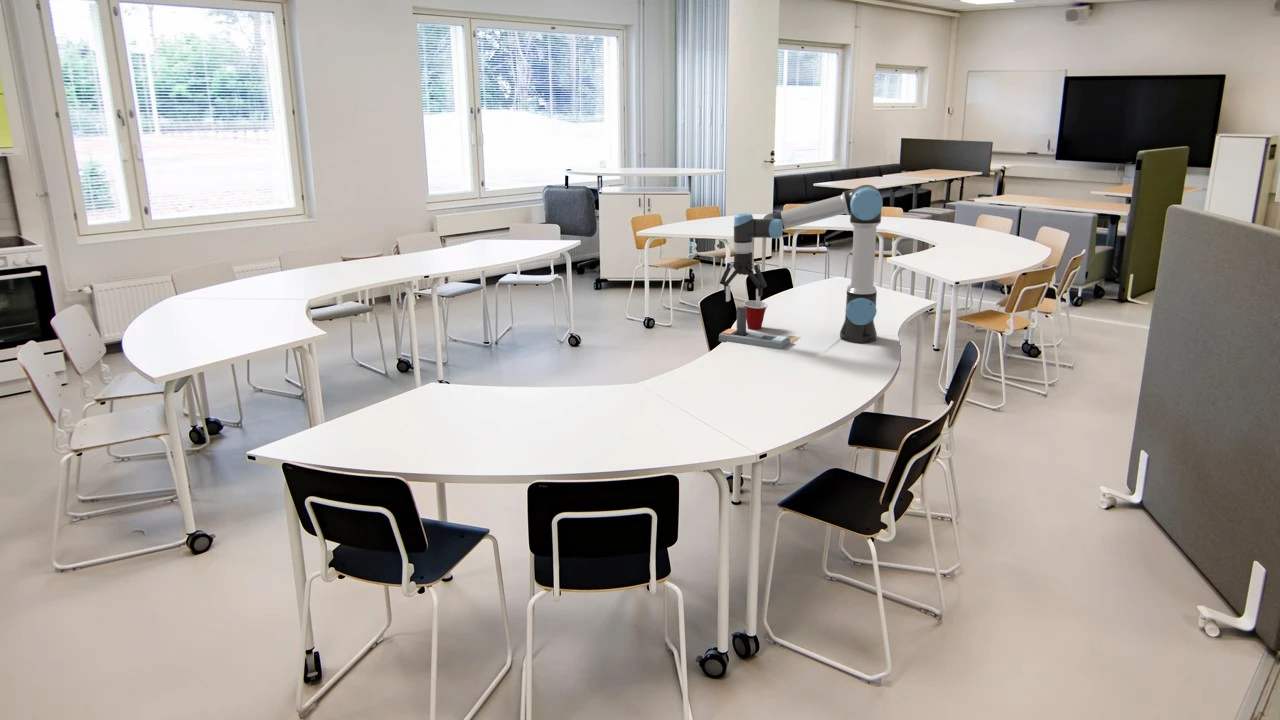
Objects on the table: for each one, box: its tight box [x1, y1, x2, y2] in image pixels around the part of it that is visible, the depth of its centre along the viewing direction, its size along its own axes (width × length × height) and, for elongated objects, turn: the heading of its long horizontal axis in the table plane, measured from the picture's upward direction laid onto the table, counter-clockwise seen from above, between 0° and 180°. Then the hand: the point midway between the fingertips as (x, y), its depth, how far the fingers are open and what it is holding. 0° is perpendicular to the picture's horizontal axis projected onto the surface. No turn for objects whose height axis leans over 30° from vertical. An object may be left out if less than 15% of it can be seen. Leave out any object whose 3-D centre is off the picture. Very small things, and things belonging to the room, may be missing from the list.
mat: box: [776, 333, 801, 344], centre depth 350 cm, size 10×10×1 cm
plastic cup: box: [742, 300, 769, 331], centre depth 364 cm, size 11×11×12 cm
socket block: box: [718, 328, 791, 350], centre depth 346 cm, size 28×10×4 cm, turn 59°
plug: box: [736, 306, 747, 337], centre depth 347 cm, size 4×4×14 cm
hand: (743, 302), depth 344 cm, fingers open, 13 cm apart
